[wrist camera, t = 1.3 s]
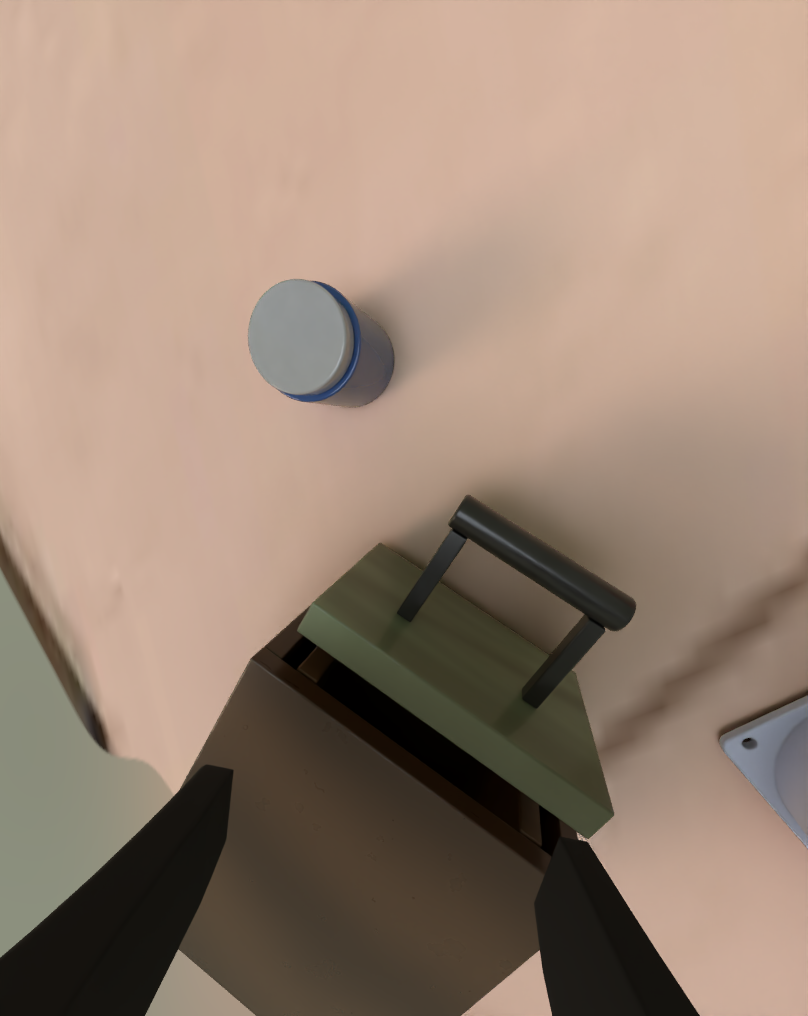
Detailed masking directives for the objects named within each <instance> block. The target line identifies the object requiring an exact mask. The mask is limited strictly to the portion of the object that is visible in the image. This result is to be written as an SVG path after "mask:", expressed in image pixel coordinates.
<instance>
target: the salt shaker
mask: <svg viewBox="0 0 808 1016" xmlns="http://www.w3.org/2000/svg"><path fill="white" fill-rule="evenodd" d="M248 343H249V350H250V354H251V357H252V360H253V362H254V364H255V366H256V368H257V370H258V372H259V373H260V374H261V376H262V377H263V378H264V379H265V380H266V381H267V382H268V383H269V384H270V385H272V386H273V387H274V388H276V389H277V390H279V391H280V392H281V393H282V394H284V395H286V396H287V397H289V398H292V399H294V400H297V401H301V402H309V403H317V404H325V405H333V406H341V407H349V408H352V407H360V406H363V405H366V404H368V403H370V402H372V401H373V400H375V399H376V398H377V397H378V396H379V395H380V394H381V393H382V392H383V391H384V389H385V388H386V386H387V385H388V383H389V381H390V378H391V375H392V371H393V365H394V354H393V348H392V345H391V342H390V339H389V337H388V335H387V333H386V332H385V330H384V329H383V328H382V327H381V326H380V325H379V324H378V323H377V322H376V321H375V320H374V319H372V318H371V317H370V316H369V315H367V314H366V313H365V312H364V311H362V310H361V309H360V308H359V307H358V306H356V305H355V304H354V303H353V302H351V301H350V300H349V299H348V298H346V297H345V296H344V295H343V294H341V293H340V292H339V291H338V290H336V289H335V288H333V287H331V286H330V285H327V284H325V283H322V282H318V281H309V280H304V279H291V280H286V281H283V282H280V283H278V284H276V285H274V286H273V287H271V288H270V289H269V290H268V291H266V292H265V293H264V294H263V296H262V297H261V298H260V299H259V301H258V302H257V304H256V306H255V308H254V310H253V312H252V315H251V318H250V322H249V329H248Z"/></svg>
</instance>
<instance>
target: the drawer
mask: <svg viewBox="0 0 808 1016" xmlns="http://www.w3.org/2000/svg"><path fill="white" fill-rule="evenodd" d="M448 525H449V526H450V527H451V528H452V529H451V530H450V532H449V533H448V535H447V536H446V538H445V539H444V541H443V542H442V544H441V545H440V547H439V548H438V550H437V551H436V553H435V554H434V556H433V557H432V559H431V561H430V562H429V564H428V565H427V567H426V568H425V570H424V571H422V570H421V569H419V568H418V567H416V566H415V565H413V564H412V563H410V562H409V561H407V560H406V559H404V558H403V557H401V556H400V555H398V554H397V553H395V552H394V551H392V550H391V549H389V548H388V547H386V546H385V545H383V544H382V543H379V544H378V545H376V546H375V547H374V548H373V549H372V550H371V551H370V552H369V553H368V554H366V555H365V556H364V557H363V558H362V559H361V560H360V561H359V562H357V563H356V564H355V565H354V566H353V567H352V568H351V569H350V570H349V571H347V572H346V573H345V574H344V575H343V576H342V577H341V578H340V579H338V580H337V581H336V582H335V583H334V584H333V585H332V586H331V587H330V588H328V589H327V590H326V591H325V592H324V593H323V594H322V595H321V596H319V597H318V598H317V599H316V600H315V601H314V602H313V603H312V604H311V606H310V608H309V610H308V611H307V613H306V615H305V616H304V618H303V620H302V622H301V623H300V625H299V627H298V629H297V631H298V632H299V633H300V634H302V635H303V636H304V637H306V638H307V639H309V640H310V641H311V642H313V643H314V644H316V645H317V646H316V647H315V648H314V650H313V651H312V652H311V653H310V654H309V655H308V656H307V658H306V659H305V660H304V661H303V662H302V663H301V664H300V665H299V667H298V668H297V669H296V670H297V671H298V672H299V673H301V674H302V675H303V676H305V677H306V678H308V679H309V680H310V681H312V682H313V683H314V684H316V685H317V686H319V687H320V688H321V689H323V690H324V691H325V692H327V693H328V694H330V695H331V696H332V697H334V698H335V699H336V700H338V701H339V702H341V703H342V704H343V705H345V706H346V707H347V708H349V709H350V710H351V711H353V712H354V713H356V714H357V715H358V716H360V717H361V718H362V719H364V720H365V721H367V722H368V723H369V724H371V725H372V726H373V727H375V728H376V729H378V730H379V731H380V732H382V733H383V734H384V735H386V736H387V737H389V738H390V739H391V740H393V741H394V742H395V743H397V744H398V745H399V746H401V747H402V748H404V749H405V750H406V751H408V752H409V753H410V754H412V755H413V756H415V757H416V758H417V759H419V760H420V761H421V762H423V763H424V764H426V765H427V766H428V767H430V768H431V769H432V770H434V771H435V772H437V773H438V774H439V775H441V776H442V777H443V778H445V779H446V780H447V781H449V782H450V783H452V784H453V785H454V786H456V787H457V788H458V789H460V790H461V791H463V792H464V793H465V794H467V795H468V796H469V797H471V798H472V799H474V800H475V801H476V802H478V803H479V804H480V805H482V806H483V807H485V808H486V809H487V810H489V811H490V812H491V813H493V814H494V815H495V816H497V817H498V818H500V819H501V820H502V821H504V822H505V823H506V824H508V825H509V826H511V827H512V828H513V829H515V830H516V831H517V832H519V833H520V834H522V835H523V836H524V837H526V838H527V839H528V840H530V841H531V842H533V843H534V844H535V845H537V846H538V847H539V848H541V846H542V836H541V824H540V812H539V805H540V806H542V807H543V808H545V809H546V810H547V811H549V812H550V813H552V814H553V815H554V816H556V817H557V818H559V819H560V820H561V821H563V822H564V823H566V824H567V825H568V826H570V827H571V828H573V829H574V830H575V831H577V832H578V833H580V834H581V835H582V836H584V837H585V838H587V839H589V838H590V837H591V836H592V835H593V834H595V833H596V832H597V831H598V830H599V829H600V828H601V827H602V826H603V825H604V824H605V823H607V822H608V821H609V820H610V819H611V818H612V817H613V816H614V810H613V807H612V803H611V800H610V796H609V792H608V789H607V785H606V781H605V778H604V774H603V771H602V767H601V763H600V760H599V756H598V752H597V749H596V745H595V742H594V738H593V734H592V731H591V727H590V723H589V720H588V716H587V713H586V709H585V705H584V702H583V698H582V694H581V691H580V687H579V683H578V680H577V676H576V673H575V672H573V671H572V669H573V668H574V666H575V665H576V664H577V663H578V662H579V661H580V660H581V659H582V657H583V656H584V655H585V654H586V653H587V652H588V651H589V649H590V648H591V647H592V646H593V645H594V644H595V643H596V641H597V640H598V639H599V638H600V637H601V636H602V635H603V634H604V632H605V628H607V629H608V630H610V631H619V630H621V629H623V628H624V627H625V626H626V625H627V624H628V623H629V622H630V620H631V619H632V617H633V615H634V613H635V610H636V602H635V601H634V599H633V598H631V597H630V596H628V595H627V594H625V593H624V592H622V591H620V590H619V589H617V588H616V587H614V586H613V585H611V584H609V583H608V582H606V581H605V580H603V579H601V578H600V577H598V576H597V575H595V574H594V573H592V572H590V571H589V570H587V569H586V568H584V567H583V566H581V565H579V564H578V563H576V562H575V561H573V560H572V559H570V558H568V557H567V556H565V555H564V554H562V553H560V552H559V551H557V550H556V549H554V548H553V547H551V546H549V545H548V544H546V543H545V542H543V541H542V540H540V539H538V538H537V537H535V536H534V535H532V534H531V533H529V532H527V531H526V530H524V529H523V528H521V527H519V526H518V525H516V524H515V523H513V522H512V521H510V520H508V519H507V518H505V517H504V516H502V515H501V514H499V513H497V512H496V511H494V510H493V509H491V508H490V507H488V506H486V505H485V504H483V503H482V502H480V501H479V500H477V499H475V498H474V497H472V496H471V495H466V496H465V498H464V499H463V501H462V502H461V504H460V505H459V507H458V508H457V510H456V511H455V513H454V515H453V516H452V518H451V519H450V521H449V523H448ZM467 538H468V539H470V540H471V541H473V542H474V543H476V544H477V545H479V546H480V547H482V548H484V549H485V550H487V551H488V552H490V553H491V554H493V555H494V556H496V557H497V558H499V559H501V560H502V561H504V562H505V563H507V564H508V565H510V566H511V567H513V568H514V569H516V570H517V571H519V572H521V573H522V574H524V575H525V576H527V577H528V578H530V579H531V580H533V581H534V582H536V583H538V584H539V585H541V586H542V587H544V588H545V589H547V590H548V591H550V592H551V593H553V594H554V595H556V596H558V597H559V598H561V599H562V600H564V601H565V602H567V603H568V604H570V605H571V606H573V607H575V608H576V609H578V610H579V611H581V612H582V613H584V614H585V615H584V616H583V617H582V618H581V619H580V621H579V622H578V623H577V624H576V625H575V626H574V628H573V629H572V630H571V631H570V632H569V634H568V635H567V636H566V637H565V638H564V639H563V641H562V642H561V643H560V644H559V645H558V647H557V648H556V649H555V650H554V651H553V652H552V654H551V655H550V656H549V655H548V654H546V653H545V652H543V651H542V650H540V649H539V648H537V647H536V646H534V645H533V644H531V643H530V642H528V641H527V640H525V639H524V638H522V637H521V636H519V635H518V634H516V633H515V632H514V631H512V630H511V629H509V628H508V627H506V626H505V625H503V624H502V623H500V622H499V621H497V620H496V619H494V618H493V617H491V616H490V615H488V614H487V613H485V612H484V611H482V610H481V609H479V608H478V607H476V606H475V605H473V604H472V603H470V602H469V601H467V600H466V599H464V598H463V597H461V596H460V595H458V594H457V593H455V592H454V591H452V590H451V589H449V588H448V587H446V586H445V585H443V584H442V583H440V582H439V581H440V579H441V578H442V576H443V575H444V573H445V572H446V570H447V569H448V567H449V566H450V564H451V563H452V562H453V560H454V559H455V557H456V556H457V554H458V553H459V551H460V550H461V548H462V547H463V545H464V544H465V542H466V541H467ZM604 627H605V628H604Z"/></svg>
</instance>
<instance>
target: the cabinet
mask: <svg viewBox="0 0 808 1016" xmlns="http://www.w3.org/2000/svg"><path fill="white" fill-rule="evenodd" d="M310 606H311V605H310ZM310 606H309V607H308V608H307V609H306V610H305V611H303V612H302V613H301V614H300V615H299V616H298V617H297V618H296V619H294V620H293V621H292V622H291V623H290V624H289V625H288V626H287V627H286V628H284V629H283V630H282V631H281V632H280V633H279V634H278V635H277V636H276V637H274V638H273V639H272V640H271V641H270V642H269V643H268V644H267V645H266V646H265V647H263V648H262V649H261V650H260V651H259V652H258V653H256V654H255V655H254V656H253V657H252V658H251V659H250V661H249V663H248V665H247V667H246V669H245V670H244V672H243V674H242V676H241V678H240V680H239V681H238V683H237V685H236V687H235V689H234V691H233V692H232V694H231V696H230V698H229V700H228V702H227V704H226V705H225V707H224V709H223V711H222V713H221V715H220V716H219V718H218V720H217V722H216V724H215V726H214V727H213V729H212V731H211V733H210V735H209V737H208V739H207V740H206V742H205V744H204V746H203V748H202V750H201V751H200V753H199V755H198V757H197V759H196V761H195V762H194V764H193V766H192V768H191V770H190V772H189V774H188V775H187V777H186V779H185V781H184V783H183V785H182V786H181V788H182V787H183V786H184V785H185V784H186V783H187V782H188V781H189V780H190V779H191V778H192V776H193V775H194V774H195V773H196V772H197V771H198V770H199V769H200V768H201V767H202V766H204V765H206V764H208V765H213V766H218V767H223V768H228V769H233V770H234V772H233V782H232V791H231V801H230V810H229V820H228V829H227V839H226V842H225V845H224V847H223V850H222V852H221V855H220V857H219V860H218V862H217V865H216V867H215V870H214V872H213V875H212V877H211V880H210V882H209V885H208V887H207V889H206V892H205V894H204V897H203V899H202V902H201V904H200V906H199V908H198V910H197V912H196V914H195V916H194V918H193V920H192V922H191V924H190V926H189V928H188V930H187V932H186V934H185V936H184V938H183V940H182V942H181V944H180V946H179V948H178V949H179V950H180V951H181V952H182V953H184V954H185V955H186V956H187V957H188V958H189V959H191V960H192V961H193V962H194V963H195V964H197V965H198V966H199V967H200V968H201V969H202V970H204V971H205V972H206V973H207V974H208V975H209V976H210V977H212V978H213V979H214V980H215V981H216V982H218V983H219V984H220V985H221V986H222V987H224V988H225V989H226V990H227V991H228V992H229V993H230V994H232V995H233V996H234V997H235V998H236V999H237V1000H239V1001H240V1002H241V1003H242V1004H243V1005H244V1006H246V1007H247V1008H248V1009H249V1010H250V1011H252V1012H253V1013H254V1014H255V1015H256V1016H461V1015H462V1014H463V1013H465V1012H466V1011H467V1010H468V1009H469V1008H471V1007H472V1006H473V1005H474V1004H475V1003H477V1002H478V1001H479V1000H480V999H481V998H483V997H484V996H485V995H486V994H487V993H489V992H490V991H491V990H492V989H493V988H494V987H496V986H497V985H498V984H499V983H500V982H502V981H503V980H504V979H505V978H506V977H508V976H509V975H510V974H511V973H512V972H514V971H515V970H516V969H517V968H518V967H520V966H521V965H522V964H523V963H524V962H526V961H527V960H528V959H529V958H530V957H532V956H533V955H534V954H535V953H536V952H538V951H539V950H540V947H539V940H538V932H537V924H536V916H535V908H534V901H535V899H536V896H537V894H538V891H539V888H540V886H541V883H542V881H543V878H544V875H545V873H546V870H547V868H548V865H549V862H550V860H551V857H552V855H553V852H554V849H555V847H556V844H557V842H558V839H559V836H561V837H566V838H571V839H576V840H578V838H577V832H576V831H575V830H574V829H573V828H571V827H570V826H568V825H567V824H566V823H564V822H563V821H561V820H560V819H559V818H557V817H556V816H554V815H553V814H552V813H550V812H549V811H547V810H546V809H545V808H543V807H542V806H540V805H539V812H540V824H541V836H542V846H541V848H539V847H538V846H537V845H535V844H534V843H533V842H531V841H530V840H528V839H527V838H526V837H524V836H523V835H522V834H520V833H519V832H517V831H516V830H515V829H513V828H512V827H511V826H509V825H508V824H506V823H505V822H504V821H502V820H501V819H500V818H498V817H497V816H495V815H494V814H493V813H491V812H490V811H489V810H487V809H486V808H485V807H483V806H482V805H480V804H479V803H478V802H476V801H475V800H474V799H472V798H471V797H469V796H468V795H467V794H465V793H464V792H463V791H461V790H460V789H458V788H457V787H456V786H454V785H453V784H452V783H450V782H449V781H447V780H446V779H445V778H443V777H442V776H441V775H439V774H438V773H437V772H435V771H434V770H432V769H431V768H430V767H428V766H427V765H426V764H424V763H423V762H421V761H420V760H419V759H417V758H416V757H415V756H413V755H412V754H410V753H409V752H408V751H406V750H405V749H404V748H402V747H401V746H399V745H398V744H397V743H395V742H394V741H393V740H391V739H390V738H389V737H387V736H386V735H384V734H383V733H382V732H380V731H379V730H378V729H376V728H375V727H373V726H372V725H371V724H369V723H368V722H367V721H365V720H364V719H362V718H361V717H360V716H358V715H357V714H356V713H354V712H353V711H351V710H350V709H349V708H347V707H346V706H345V705H343V704H342V703H341V702H339V701H338V700H336V699H335V698H334V697H332V696H331V695H330V694H328V693H327V692H325V691H324V690H323V689H321V688H320V687H319V686H317V685H316V684H314V683H313V682H312V681H310V680H309V679H308V678H306V677H305V676H303V675H302V674H301V673H299V672H298V671H297V670H296V669H297V668H298V667H299V665H300V664H301V663H302V662H303V661H304V660H305V659H306V658H307V656H308V655H309V654H310V653H311V652H312V651H313V650H314V648H315V647H316V646H317V645H316V644H314V643H313V642H311V641H310V640H309V639H307V638H306V637H304V636H303V635H302V634H300V633H299V632H298V631H297V629H298V627H299V625H300V623H301V622H302V620H303V618H304V616H305V615H306V613H307V611H308V610H309V608H310ZM181 788H180V789H181Z"/></svg>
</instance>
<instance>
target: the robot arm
mask: <svg viewBox="0 0 808 1016" xmlns="http://www.w3.org/2000/svg"><path fill="white" fill-rule="evenodd" d="M746 738H751V740H750V741H748V742H742V741H743V740H744V739H746ZM719 744H720V746H721V748H722V749H723V751H724V752H725V754H726V755H727V756H728V757H729V758H730V760H731V761H732V762H733V763H734V764H735V765H736V766H737V768H738V769H739V770H740V771H741V772H742V773H743V775H744V776H745V777H746V778H747V779H748V780H749V781H750V783H751V784H752V785H753V786H754V787H755V788H756V790H757V791H758V792H759V793H760V794H761V795H762V797H763V798H764V799H765V800H766V801H767V802H768V803H769V805H770V806H771V807H772V808H773V809H774V810H775V812H776V813H777V814H778V815H779V816H780V817H781V818H782V820H783V821H784V822H785V823H786V824H787V825H788V827H789V828H790V829H791V830H792V831H793V832H794V833H795V835H796V836H797V837H798V838H799V839H800V840H801V842H802V843H803V844H804V845H805V846H806V847H807V849H808V695H807V696H805V697H803V698H800V699H798V700H796V701H794V702H792V703H790V704H787V705H785V706H783V707H781V708H779V709H777V710H775V711H772V712H770V713H768V714H766V715H764V716H762V717H760V718H757V719H755V720H753V721H751V722H749V723H747V724H745V725H742V726H740V727H738V728H736V729H734V730H732V731H729V732H727V733H725V734H724V735H722V736H721V738H720V740H719ZM233 772H234V770H233V769H228V768H223V767H218V766H213V765H208V764H206V765H204V766H202V767H201V768H200V769H199V770H198V771H197V772H196V773H195V774H194V775H193V776H192V778H191V779H190V780H189V781H188V782H187V783H186V784H185V785H184V786H183V787H182V788H181V789H180V790H179V791H178V792H177V793H176V795H175V796H174V797H173V798H172V799H171V800H170V801H169V802H168V803H167V804H166V805H165V806H164V807H163V808H162V809H161V810H160V811H159V812H158V813H157V814H156V815H155V816H154V817H153V818H152V819H151V820H150V821H149V822H148V823H147V824H146V825H145V826H144V827H143V828H142V829H141V830H140V831H139V832H138V833H137V834H136V835H135V836H134V837H133V838H132V839H131V840H130V841H129V842H128V843H127V844H125V845H124V846H123V847H122V848H121V849H120V850H119V851H118V852H117V853H116V854H115V855H114V856H113V857H112V858H111V859H110V860H109V861H108V862H107V863H106V864H105V865H104V866H103V867H102V868H101V869H99V870H98V872H96V873H95V874H94V875H93V876H92V877H91V878H90V879H89V880H88V881H87V882H85V883H84V884H83V885H82V886H81V887H80V888H79V889H78V890H77V891H75V893H73V894H72V895H71V896H70V897H69V898H68V899H67V900H66V901H64V902H63V903H62V904H61V905H60V906H59V907H58V908H57V909H56V910H54V911H53V912H52V913H51V914H50V915H49V916H48V917H47V918H45V919H44V920H43V921H42V922H41V923H40V924H39V925H38V926H37V927H35V928H34V929H33V930H32V931H31V932H30V933H29V934H27V935H26V936H25V937H24V938H23V939H22V940H20V941H19V942H18V943H17V944H16V945H15V946H13V947H12V948H11V949H10V950H9V951H8V952H6V953H5V954H4V955H3V956H2V957H1V958H0V1016H145V1014H146V1012H147V1010H148V1008H149V1006H150V1004H151V1002H152V1000H153V998H154V996H155V994H156V992H157V990H158V988H159V986H160V984H161V982H162V980H163V978H164V976H165V974H166V972H167V970H168V968H169V966H170V964H171V962H172V960H173V958H174V956H175V954H176V952H177V950H178V948H179V946H180V944H181V942H182V940H183V938H184V936H185V934H186V932H187V930H188V928H189V926H190V924H191V922H192V920H193V918H194V916H195V914H196V912H197V910H198V908H199V906H200V904H201V902H202V899H203V897H204V894H205V892H206V889H207V887H208V885H209V882H210V880H211V877H212V875H213V872H214V870H215V867H216V865H217V862H218V860H219V857H220V855H221V852H222V850H223V847H224V845H225V842H226V839H227V829H228V820H229V810H230V801H231V791H232V782H233ZM534 908H535V916H536V924H537V932H538V940H539V947H540V954H541V961H542V968H543V974H544V979H545V983H546V988H547V993H548V998H549V1002H550V1007H551V1011H552V1016H700V1015H699V1014H698V1012H697V1011H696V1009H695V1008H694V1006H693V1005H692V1003H691V1002H690V1000H689V999H688V997H687V996H686V994H685V993H684V991H683V990H682V988H681V987H680V985H679V984H678V982H677V981H676V979H675V978H674V976H673V975H672V973H671V972H670V970H669V969H668V967H667V966H666V964H665V963H664V961H663V960H662V958H661V957H660V955H659V954H658V952H657V951H656V949H655V947H654V946H653V944H652V943H651V941H650V940H649V938H648V937H647V935H646V933H645V932H644V930H643V929H642V927H641V926H640V924H639V923H638V921H637V919H636V918H635V916H634V915H633V913H632V912H631V910H630V908H629V907H628V905H627V904H626V902H625V900H624V899H623V897H622V896H621V894H620V893H619V891H618V889H617V888H616V886H615V885H614V883H613V881H612V880H611V878H610V877H609V875H608V874H607V872H606V870H605V869H604V867H603V866H602V864H601V862H600V861H599V859H598V858H597V856H596V855H595V853H594V851H593V850H592V848H591V847H590V845H589V844H588V842H586V841H581V840H576V839H571V838H566V837H561V836H559V839H558V842H557V844H556V847H555V849H554V852H553V855H552V857H551V860H550V862H549V865H548V868H547V870H546V873H545V875H544V878H543V881H542V883H541V886H540V888H539V891H538V894H537V896H536V899H535V901H534Z"/></svg>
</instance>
